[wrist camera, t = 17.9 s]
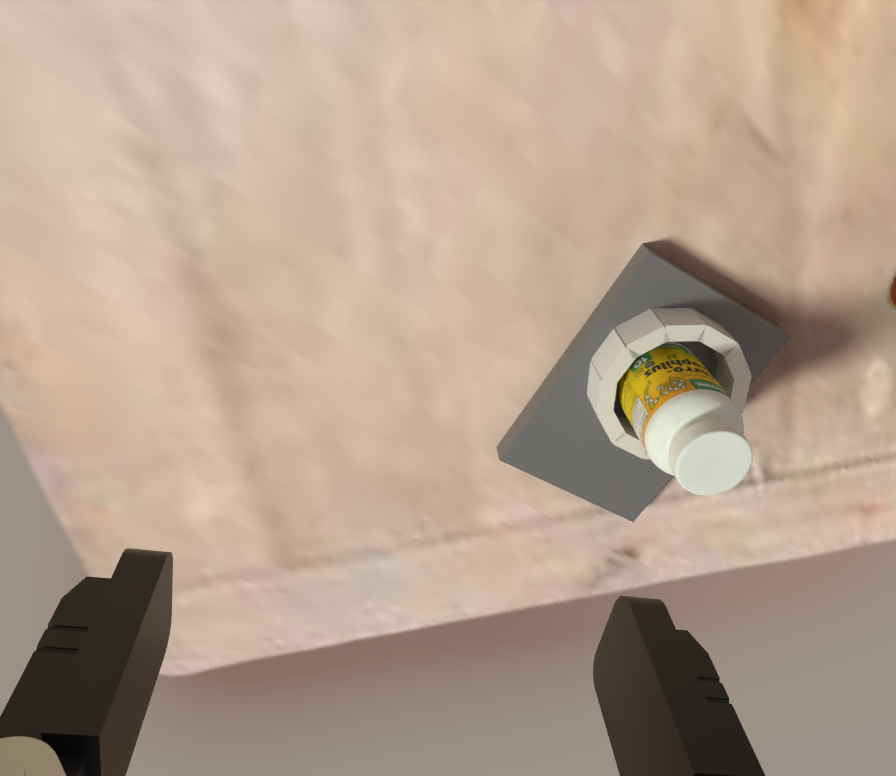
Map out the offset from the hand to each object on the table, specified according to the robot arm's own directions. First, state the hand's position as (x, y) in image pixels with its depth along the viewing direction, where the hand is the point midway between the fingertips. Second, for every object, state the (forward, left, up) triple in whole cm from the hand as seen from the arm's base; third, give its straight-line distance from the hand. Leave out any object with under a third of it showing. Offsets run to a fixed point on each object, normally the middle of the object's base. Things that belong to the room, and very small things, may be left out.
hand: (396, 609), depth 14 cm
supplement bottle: (+2, +20, -31) cm, 37 cm away
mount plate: (+4, +20, -32) cm, 38 cm away
